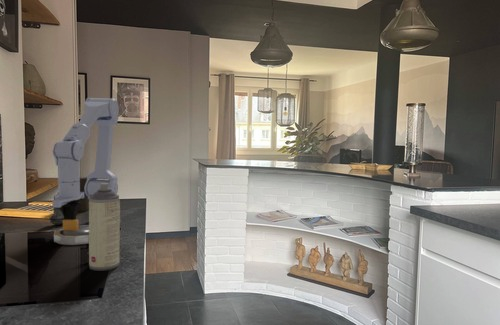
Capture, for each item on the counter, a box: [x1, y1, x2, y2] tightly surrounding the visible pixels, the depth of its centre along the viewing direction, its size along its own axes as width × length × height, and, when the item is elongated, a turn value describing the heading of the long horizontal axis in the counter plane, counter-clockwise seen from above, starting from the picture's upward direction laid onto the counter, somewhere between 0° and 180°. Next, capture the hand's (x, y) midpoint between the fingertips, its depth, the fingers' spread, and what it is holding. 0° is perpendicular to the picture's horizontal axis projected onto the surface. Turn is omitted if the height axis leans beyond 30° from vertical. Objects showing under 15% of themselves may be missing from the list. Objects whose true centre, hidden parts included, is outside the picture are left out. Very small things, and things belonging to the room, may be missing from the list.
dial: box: [62, 219, 89, 236], centre depth 105 cm, size 10×9×5 cm
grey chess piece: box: [48, 193, 64, 226], centre depth 120 cm, size 6×6×12 cm
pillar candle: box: [76, 175, 90, 213], centre depth 147 cm, size 10×10×15 cm
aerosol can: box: [88, 183, 121, 272], centre depth 86 cm, size 7×7×20 cm
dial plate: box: [53, 224, 89, 246], centre depth 106 cm, size 15×15×3 cm
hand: (69, 226), depth 106 cm, fingers closed, pressing on dial
